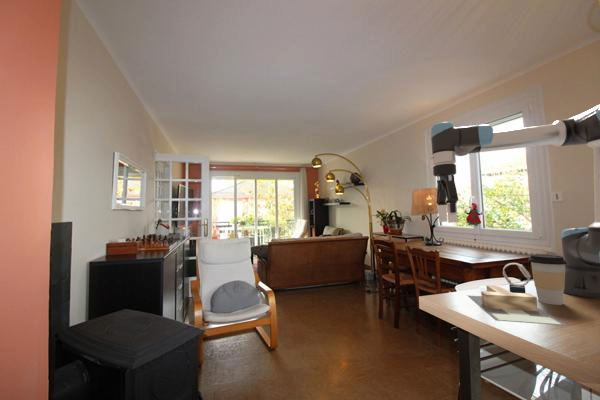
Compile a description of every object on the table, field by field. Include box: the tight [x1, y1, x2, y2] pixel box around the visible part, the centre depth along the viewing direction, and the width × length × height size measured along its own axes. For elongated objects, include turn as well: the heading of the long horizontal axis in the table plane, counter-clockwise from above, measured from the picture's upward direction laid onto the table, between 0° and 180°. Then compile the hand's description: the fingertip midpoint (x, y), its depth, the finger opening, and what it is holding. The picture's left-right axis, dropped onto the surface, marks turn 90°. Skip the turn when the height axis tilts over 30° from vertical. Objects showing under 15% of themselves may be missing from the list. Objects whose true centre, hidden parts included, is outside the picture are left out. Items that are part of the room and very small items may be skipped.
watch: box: [502, 262, 532, 293], centre depth 98 cm, size 6×8×11 cm
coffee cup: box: [527, 253, 567, 306], centre depth 89 cm, size 9×9×15 cm
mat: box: [467, 295, 569, 326], centre depth 83 cm, size 16×24×1 cm, turn 164°
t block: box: [480, 284, 539, 311], centre depth 88 cm, size 13×13×4 cm
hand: (447, 222), depth 100 cm, fingers open, 13 cm apart
